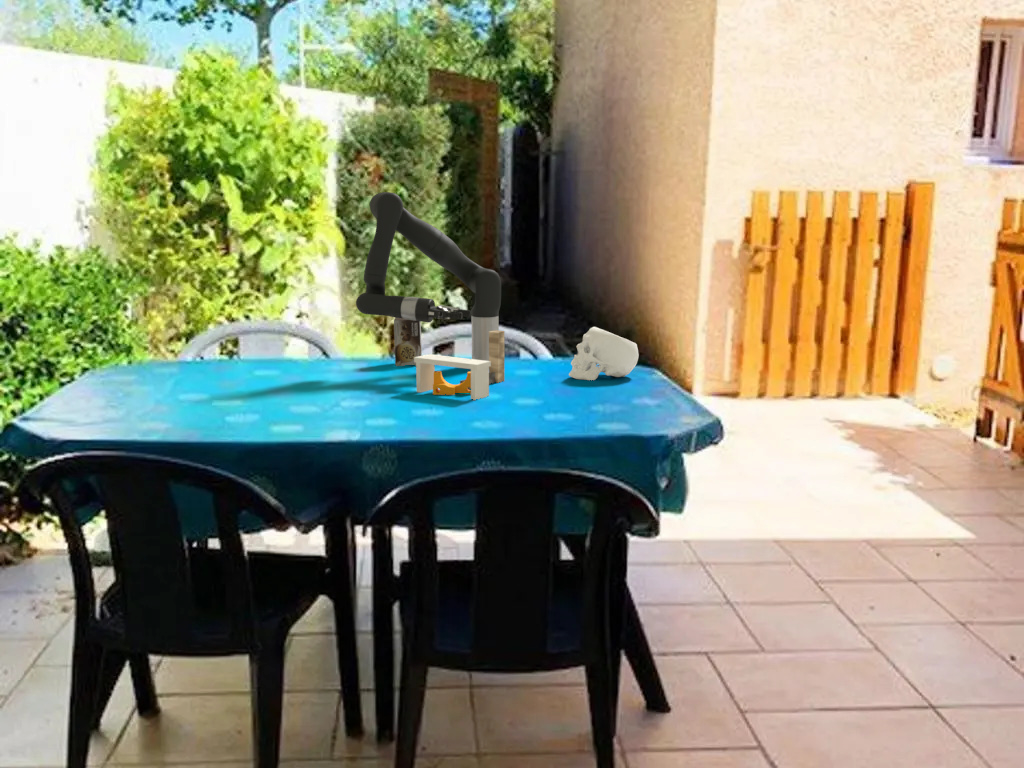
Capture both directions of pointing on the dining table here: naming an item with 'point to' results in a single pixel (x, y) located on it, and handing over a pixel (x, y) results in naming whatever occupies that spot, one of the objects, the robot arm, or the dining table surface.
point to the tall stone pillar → (495, 357)
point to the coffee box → (407, 341)
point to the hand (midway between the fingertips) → (466, 315)
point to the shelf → (478, 367)
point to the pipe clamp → (450, 385)
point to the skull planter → (603, 355)
